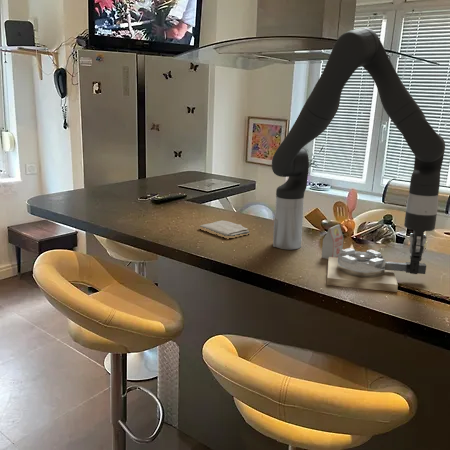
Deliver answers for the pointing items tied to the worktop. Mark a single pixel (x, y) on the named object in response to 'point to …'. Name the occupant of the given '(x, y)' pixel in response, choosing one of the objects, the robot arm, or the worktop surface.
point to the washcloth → (226, 228)
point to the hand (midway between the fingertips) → (413, 272)
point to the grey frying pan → (370, 264)
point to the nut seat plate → (360, 279)
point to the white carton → (332, 242)
